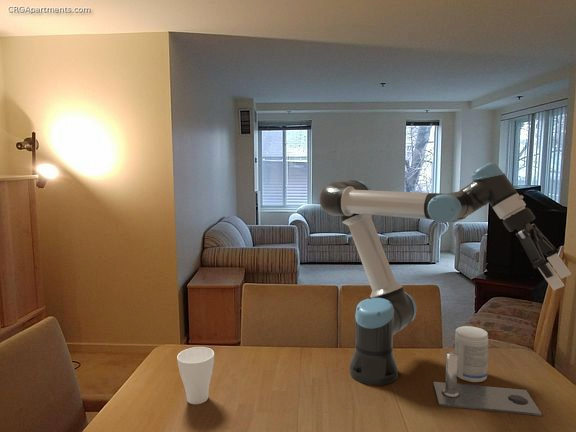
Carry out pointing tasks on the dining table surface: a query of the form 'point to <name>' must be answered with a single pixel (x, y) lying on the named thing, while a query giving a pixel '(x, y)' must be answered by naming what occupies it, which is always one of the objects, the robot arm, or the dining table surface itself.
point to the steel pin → (451, 375)
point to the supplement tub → (471, 353)
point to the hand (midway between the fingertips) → (563, 282)
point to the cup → (196, 372)
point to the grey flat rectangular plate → (488, 399)
